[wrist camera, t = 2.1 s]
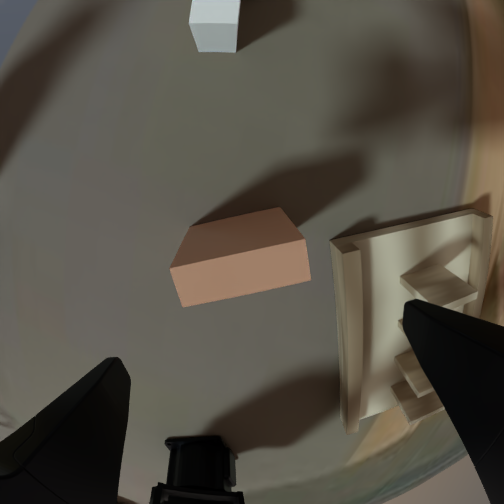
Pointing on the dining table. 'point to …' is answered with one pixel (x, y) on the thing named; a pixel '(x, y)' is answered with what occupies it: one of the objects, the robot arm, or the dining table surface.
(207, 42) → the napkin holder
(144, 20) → the dining table surface
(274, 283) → the pink clay brick
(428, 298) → the dish rack
